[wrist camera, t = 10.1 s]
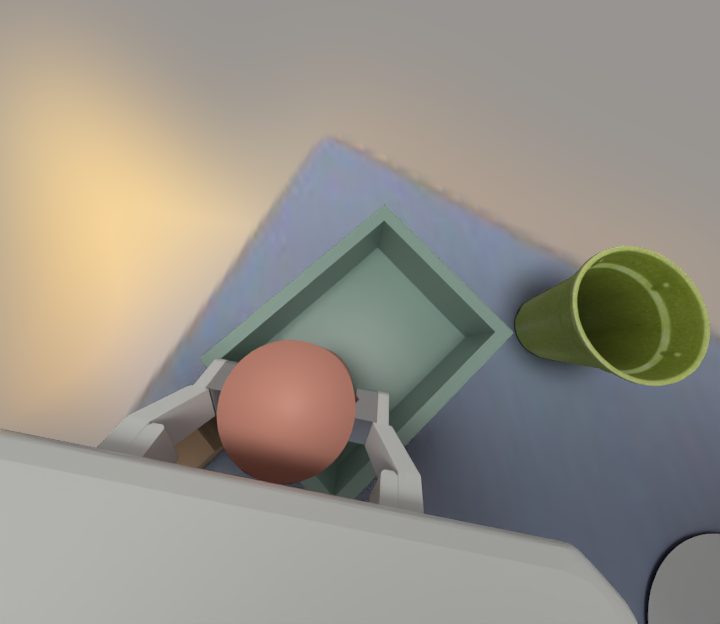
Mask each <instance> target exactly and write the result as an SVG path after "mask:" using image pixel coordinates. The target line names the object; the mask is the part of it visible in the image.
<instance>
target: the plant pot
mask: <svg viewBox="0 0 720 624" xmlns="http://www.w3.org/2000/svg"><path fill="white" fill-rule="evenodd" d="M515 329H516V333H517V336H518V338H519V340H520V342H521V344H522V345H523V346H524V347H525V348H526V349H527V350H529V351H530V352H532V353H533V354H535V355H537V356H538V357H540V358H545V359H550V360H556V361H562V362H568V363H573V364H579V365H584V366H590V367H596V368H600V369H602V370H604V371H607V372H610V373H612V374H614V375H616V376H618V377H620V378H622V379H624V380H627V381H629V382H633V383H637V384H642V385H648V386H663V385H668V384H672V383H676V382H678V381H681V380H683V379H684V378H686V377H687V376H689V375H690V374H692V373H693V372H694V371H695V370H696V369H697V368H698V367H699V365H700V364H701V362H702V360H703V358H704V357H705V355H706V352H707V349H708V345H709V341H710V324H709V318H708V313H707V309H706V306H705V304H704V301H703V299H702V297H701V295H700V293H699V291H698V289H697V288H696V286H695V284H694V283H693V282H692V280H691V279H690V278H689V277H688V275H686V274H685V273H684V272H683V271H682V270H681V269H680V268H679V267H678V266H677V265H676V264H674V263H673V262H672V261H670V260H668V259H667V258H666V257H664V256H663V255H661V254H658V253H656V252H654V251H651V250H649V249H645V248H641V247H634V246H619V247H613V248H609V249H606V250H604V251H602V252H600V253H598V254H596V255H594V256H593V257H591V258H590V259H589V260H588V261H586V262H585V263H584V264H583V266H582V267H581V268H580V269H579V271H577V272H576V273H575V274H574V275H573V276H572V277H570V278H569V279H567V280H565V281H563V282H562V283H560V284H558V285H556V286H554V287H553V288H551V289H549V290H547V291H545V292H543V293H542V294H540V295H538V296H536V297H534V298H532V299H530V300H529V301H527V302H525V303H524V304H523V305H522V307H521V309H520V311H519V313H518V315H517V316H516V319H515Z"/></svg>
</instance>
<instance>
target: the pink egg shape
mask: <svg viewBox="0 0 720 624" xmlns="http://www.w3.org/2000/svg"><path fill="white" fill-rule="evenodd" d="M355 411H356V409H355V396H354V390H353V384H352V378H351V374H350V371H349V369H348V367H347V365H346V364H345V362H344V361H343V360H342V359H341V358H340V357H339V356H338V355H337V354H335V353H334V352H332V351H330V350H327V349H325V348H322V347H319V346H317V345H314V344H312V343H308V342H304V341H298V340H282V341H276V342H272V343H269V344H266V345H264V346H261V347H259V348H257V349H255V350H254V351H252V352H251V353H249V354H248V355H247V356H245V357H244V358H243V359H242V360H241V361H240V362H239V363H238V364H237V365H236V366H235V367H234V369H233V370H232V371H231V373H230V374H229V376H228V377H227V379H226V381H225V383H224V385H223V387H222V390H221V393H220V396H219V401H218V406H217V426H218V432H219V436H220V439H221V442H222V444H223V447H224V449H225V451H226V452H227V454H228V455H229V457H230V458H231V460H232V461H233V462H234V463H235V464H236V465H237V466H238V467H239V468H240V469H241V470H243V471H244V472H245V473H247V474H248V475H250V476H252V477H253V478H256V479H258V480H261V481H265V482H270V483H275V484H291V483H296V482H300V481H303V480H306V479H309V478H311V477H313V476H315V475H317V474H319V473H320V472H322V471H323V470H325V469H326V468H327V467H328V466H329V465H330V464H332V463H333V462H334V461H335V459H336V458H337V457H338V456H339V455H340V453H341V452H342V450H343V449H344V447H345V446H346V444H347V442H348V440H349V437H350V435H351V432H352V429H353V425H354V421H355Z"/></svg>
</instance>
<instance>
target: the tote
mask: <svg viewBox="0 0 720 624" xmlns="http://www.w3.org/2000/svg"><path fill="white" fill-rule="evenodd" d="M513 333H514V332H513V331H512V330H511V329H510V328H509V327H508V326H507V325H506V324H505V323H504V322H503V321H502V320H501V319H500V318H499V317H498V316H497V315H496V314H495V313H494V312H493V311H492V310H491V309H490V308H489V307H488V306H487V305H486V304H485V303H484V302H483V301H482V300H481V299H480V298H479V297H478V296H476V295H475V294H474V293H473V292H472V291H471V290H470V289H469V288H468V287H467V286H466V285H465V284H464V283H463V282H462V281H461V280H460V279H459V278H458V277H457V276H456V275H455V274H454V273H453V272H452V271H451V270H450V269H449V268H448V267H447V266H446V265H445V264H444V263H443V262H442V261H441V260H440V259H439V258H438V257H437V256H436V255H435V254H434V253H433V252H432V251H431V250H430V249H429V248H428V247H427V246H426V245H425V244H424V243H423V242H422V241H421V240H420V239H419V238H418V237H417V236H416V235H415V234H414V233H413V232H412V231H411V230H410V229H409V228H408V227H407V226H406V225H405V224H404V223H403V222H402V221H401V220H400V219H399V218H398V217H397V216H396V215H395V214H394V213H393V212H392V211H391V210H390V209H389V208H388V207H387V206H386V205H385V204H384V205H383V206H382V207H381V208H380V209H378V210H377V211H376V212H375V213H374V214H372V215H371V216H370V217H369V218H368V219H366V220H365V221H364V222H363V223H362V224H360V225H359V226H358V227H357V228H356V229H354V230H353V231H352V232H351V233H350V234H348V235H347V236H346V237H345V238H343V239H342V240H341V241H340V242H339V243H337V244H336V245H335V246H334V247H333V248H331V249H330V250H329V251H328V252H327V253H325V254H324V255H323V256H322V257H321V258H319V259H318V260H317V261H316V262H315V263H313V264H312V265H311V266H310V267H309V268H307V269H306V270H305V271H304V272H303V273H301V274H300V275H299V276H298V277H297V278H295V279H294V280H293V281H292V282H291V283H289V284H288V285H287V286H286V287H285V288H283V289H282V290H281V291H280V292H279V293H277V294H276V295H275V296H274V297H273V298H271V299H270V300H269V301H268V302H267V303H265V304H264V305H263V306H262V307H261V308H259V309H258V310H257V311H256V312H255V313H253V314H252V315H251V316H250V317H249V318H247V319H246V320H245V321H244V322H243V323H241V324H240V325H239V326H238V327H237V328H235V329H234V330H233V331H232V332H231V333H229V334H228V335H227V336H226V337H225V338H223V339H222V340H221V341H220V342H219V343H217V344H216V345H215V346H214V347H212V348H211V349H210V350H209V351H208V352H206V353H205V354H204V355H203V356H202V357H200V358H199V359H200V361H201V362H202V363H203V364H204V366H205V367H206V368H208V367H209V365H210V364H211V363H212V362H213V361H214V360H215V359H217V358H220V359H225V360H229V361H233V362H238V363H239V362H240V361H241V360H242V359H243V358H244V357H245V356H247V355H248V354H249V353H251V352H252V351H254V350H255V349H257V348H259V347H261V346H264V345H266V344H269V343H272V342H276V341H282V340H298V341H304V342H308V343H312V344H314V345H317V346H319V347H322V348H325V349H327V350H330V351H332V352H334V353H335V354H337V355H338V356H339V357H340V358H341V359H342V360H343V361H344V362H345V364H346V365H347V367H348V369H349V371H350V374H351V378H352V384H353V390H354V396H355V393H356V389H357V387H361V388H366V389H371V390H377V391H380V392H385V393H388V394H389V426H392V427H393V429H394V431H395V432H396V434H397V436H398V438H399V439H400V441H401V443H402V444H403V446H404V447H405V446H406V445H407V444H408V443H409V442H410V441H411V440H412V439H413V438H414V437H415V436H416V435H417V433H418V432H419V431H420V430H421V429H422V428H423V427H424V426H425V425H426V424H427V423H428V422H429V421H430V420H431V419H432V418H433V417H434V416H435V415H436V414H437V413H438V412H439V411H440V409H441V408H442V407H443V406H444V405H445V404H446V403H447V402H448V401H449V400H450V399H451V398H452V397H453V396H454V395H455V394H456V393H457V392H458V391H459V390H460V389H461V388H462V386H463V385H464V384H465V383H466V382H467V381H468V380H469V379H470V378H471V377H472V376H473V375H474V374H475V373H476V372H477V371H478V370H479V369H480V368H481V367H482V366H483V365H484V364H485V362H486V361H487V360H488V359H489V358H490V357H491V356H492V355H493V354H494V353H495V352H496V351H497V350H498V349H499V348H500V347H501V346H502V345H503V344H504V343H505V342H506V341H507V340H508V338H509V337H510V336H511V335H512V334H513ZM375 477H376V473H375V471H374V468H373V466H372V463H371V461H370V458H369V456H368V453H367V451H366V448H365V445H364V444H359V443H355V442H351V441H348V442H347V444H346V446H345V447H344V449H343V450H342V452H341V453H340V455H339V456H338V457H337V458H336V459H335V461H334V462H333V463H332V464H330V465H329V466H328V467H327V468H326V469H325V470H323V471H322V472H320V473H319V474H317V475H315V476H313V477H311V478H309V479H306V480H303V481H300V483H301V484H302V486H303V487H304V488H305V489H306V490H310V491H315V492H320V493H325V494H330V495H335V496H340V497H345V498H350V499H355V498H356V497H357V496H358V495H359V494H360V493H361V492H362V491H363V490H364V489H365V488H366V487H367V486H368V485H369V484H370V483H371V481H372V480H373V479H374V478H375Z"/></svg>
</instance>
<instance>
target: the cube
mask: <svg viewBox="0 0 720 624" xmlns="http://www.w3.org/2000/svg"><path fill="white" fill-rule="evenodd" d="M174 448H175V450H176V452H177V454H178V457H179V459H178V461H177V462H176V464H180V465H185V466H190V467H195V468H200V469H204V468H205V467H206V466H207V465H208V464H209V463H210V462H212V461H213V460H214V459H215V458H216V457H217V456H218V455H219V454H220V453H221V452H222V451H223V450H225V449H224V447H223V444H222V442H221V439H220V436H219V432H218V426H217V415H215V416H214V417H213V418H212V419H210V420H209V421H207V422H206V423H205V424H203V425H202V426H201V427H199V428H198V429H196V430H195V431H194V432H192V433H191V434H190V435H188V436H187V437H185V438H184V439H183V440H181V441H180V442H179V443H177V444H176V445H174Z"/></svg>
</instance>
